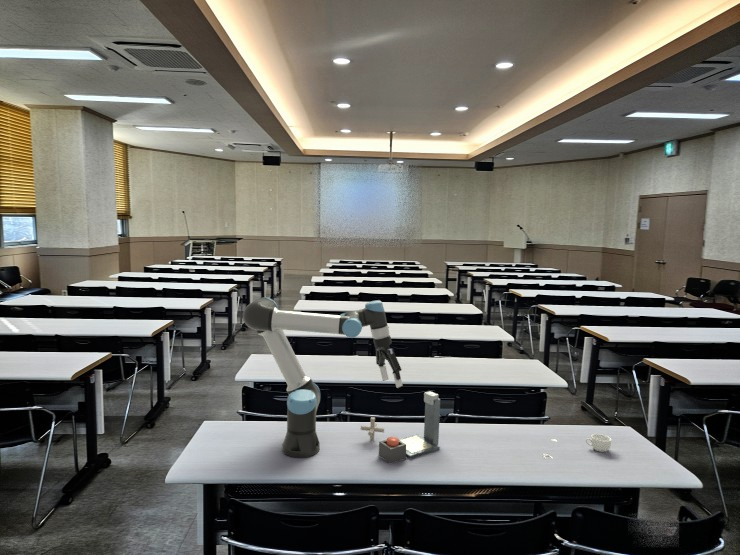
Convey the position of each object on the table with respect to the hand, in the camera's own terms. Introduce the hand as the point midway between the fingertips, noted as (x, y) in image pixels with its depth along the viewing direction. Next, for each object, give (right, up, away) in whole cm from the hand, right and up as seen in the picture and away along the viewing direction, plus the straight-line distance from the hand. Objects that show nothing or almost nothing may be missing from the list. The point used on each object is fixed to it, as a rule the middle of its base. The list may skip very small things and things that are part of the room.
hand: (392, 383), depth 210 cm
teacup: (+88, -28, -3) cm, 92 cm away
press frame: (+10, -26, -5) cm, 28 cm away
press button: (-1, -22, -16) cm, 27 cm away
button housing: (-1, -26, -15) cm, 31 cm away
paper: (+66, -28, -7) cm, 72 cm away
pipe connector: (-9, -25, 0) cm, 26 cm away
